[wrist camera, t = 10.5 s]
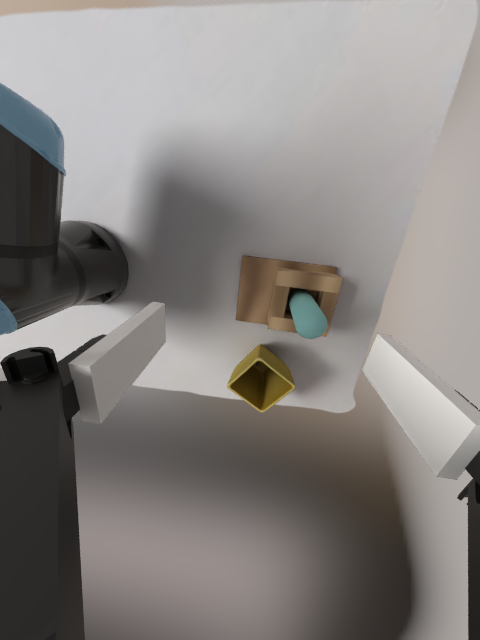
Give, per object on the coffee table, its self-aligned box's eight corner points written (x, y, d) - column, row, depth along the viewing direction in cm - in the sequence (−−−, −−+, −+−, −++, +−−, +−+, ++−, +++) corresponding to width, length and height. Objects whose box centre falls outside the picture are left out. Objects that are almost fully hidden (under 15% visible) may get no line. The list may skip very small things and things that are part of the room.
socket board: (236, 318, 43) (232, 328, 39) (243, 255, 39) (239, 259, 34) (318, 329, 43) (324, 341, 38) (335, 266, 38) (345, 272, 33)
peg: (285, 307, 40) (292, 336, 29) (289, 286, 39) (298, 308, 28) (308, 310, 40) (323, 340, 29) (312, 288, 39) (331, 312, 28)
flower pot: (262, 382, 49) (262, 414, 41) (232, 359, 47) (225, 387, 39) (291, 358, 46) (297, 387, 37) (260, 332, 44) (258, 356, 36)
